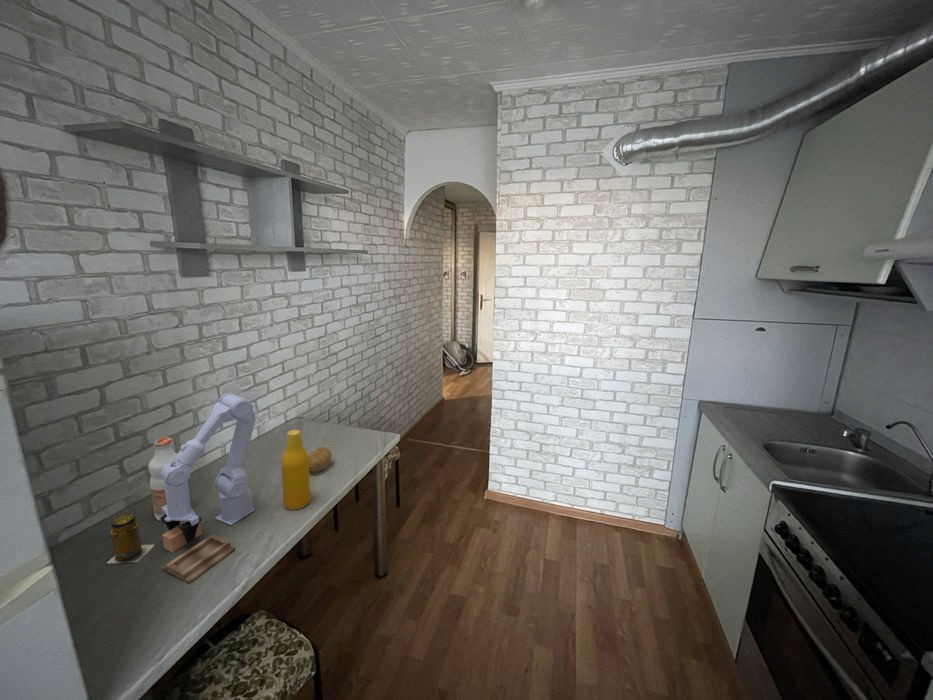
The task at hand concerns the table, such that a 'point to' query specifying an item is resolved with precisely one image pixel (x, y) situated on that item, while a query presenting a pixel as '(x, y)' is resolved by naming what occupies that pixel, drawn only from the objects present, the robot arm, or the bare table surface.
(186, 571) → the cradle jig
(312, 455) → the potato
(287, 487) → the yellow bottle
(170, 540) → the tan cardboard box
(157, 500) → the fruit juice
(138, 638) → the table surface
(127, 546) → the condiment
